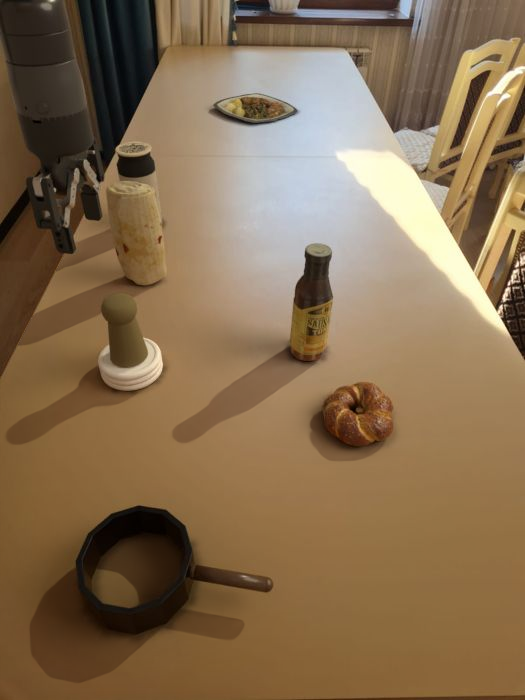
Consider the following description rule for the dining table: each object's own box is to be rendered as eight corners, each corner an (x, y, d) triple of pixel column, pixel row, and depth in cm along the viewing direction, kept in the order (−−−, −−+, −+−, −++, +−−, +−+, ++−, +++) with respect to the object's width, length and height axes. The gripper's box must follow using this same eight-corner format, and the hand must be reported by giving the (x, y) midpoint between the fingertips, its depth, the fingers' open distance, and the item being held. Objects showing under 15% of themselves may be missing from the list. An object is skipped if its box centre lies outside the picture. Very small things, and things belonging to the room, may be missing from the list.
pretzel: (333, 382, 87) (335, 366, 85) (400, 401, 84) (405, 384, 82) (311, 437, 79) (312, 420, 76) (385, 459, 76) (389, 442, 73)
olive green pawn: (155, 350, 88) (146, 295, 80) (131, 372, 84) (118, 316, 76) (127, 337, 90) (115, 283, 82) (101, 359, 86) (87, 303, 79)
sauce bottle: (306, 368, 90) (315, 267, 76) (281, 349, 93) (285, 249, 80) (334, 352, 93) (347, 251, 80) (309, 333, 96) (317, 235, 83)
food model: (171, 270, 111) (159, 177, 98) (164, 289, 106) (150, 193, 93) (125, 268, 112) (107, 175, 99) (115, 286, 107) (95, 191, 94)
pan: (68, 621, 59) (56, 601, 56) (110, 521, 68) (103, 499, 65) (263, 658, 57) (263, 640, 53) (280, 549, 66) (281, 527, 62)
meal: (252, 130, 172) (252, 122, 170) (204, 108, 186) (203, 101, 184) (307, 112, 185) (308, 104, 183) (258, 93, 198) (258, 86, 196)
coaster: (175, 365, 90) (173, 349, 88) (133, 401, 84) (129, 385, 82) (132, 342, 94) (128, 327, 92) (88, 375, 88) (83, 360, 86)
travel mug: (160, 233, 122) (149, 155, 110) (124, 233, 122) (110, 155, 110) (164, 216, 128) (154, 140, 116) (131, 216, 128) (117, 140, 116)
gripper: (48, 82, 65) (76, 207, 75) (-17, 122, 54) (27, 261, 65) (108, 86, 64) (128, 212, 75) (54, 128, 53) (86, 268, 64)
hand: (81, 235), depth 70 cm, fingers open, 8 cm apart
